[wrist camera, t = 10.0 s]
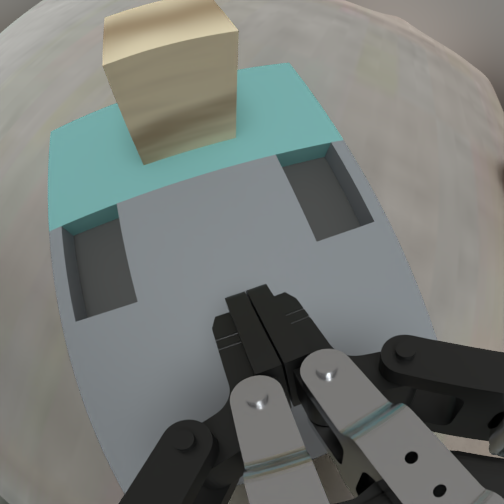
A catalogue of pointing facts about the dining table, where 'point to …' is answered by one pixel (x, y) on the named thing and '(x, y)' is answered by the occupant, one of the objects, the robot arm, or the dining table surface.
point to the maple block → (173, 75)
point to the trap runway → (212, 257)
